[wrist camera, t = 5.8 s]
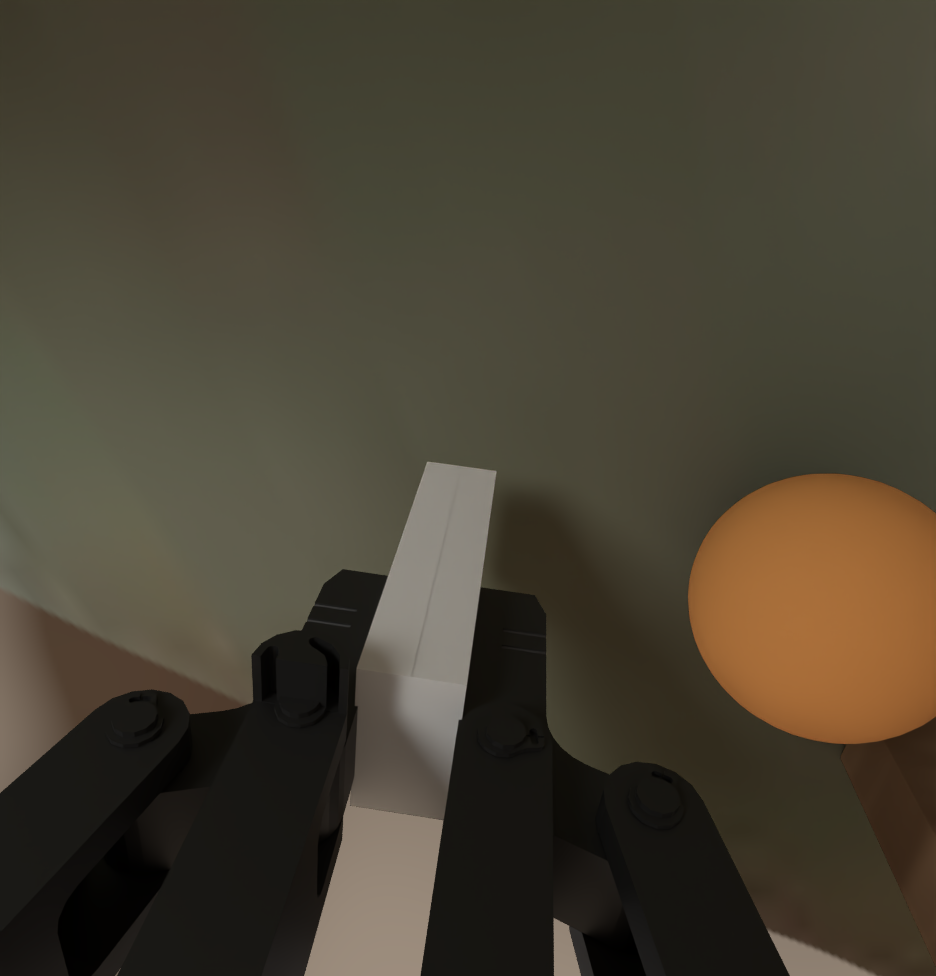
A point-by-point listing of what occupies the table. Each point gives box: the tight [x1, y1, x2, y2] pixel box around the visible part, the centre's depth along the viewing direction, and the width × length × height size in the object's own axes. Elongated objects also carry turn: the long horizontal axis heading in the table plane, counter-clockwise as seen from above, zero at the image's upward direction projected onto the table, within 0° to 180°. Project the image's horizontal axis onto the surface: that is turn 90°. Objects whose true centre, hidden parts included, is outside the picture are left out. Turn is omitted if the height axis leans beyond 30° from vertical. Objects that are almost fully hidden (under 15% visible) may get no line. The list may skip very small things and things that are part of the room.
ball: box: [688, 474, 936, 744], centre depth 15 cm, size 6×6×6 cm
